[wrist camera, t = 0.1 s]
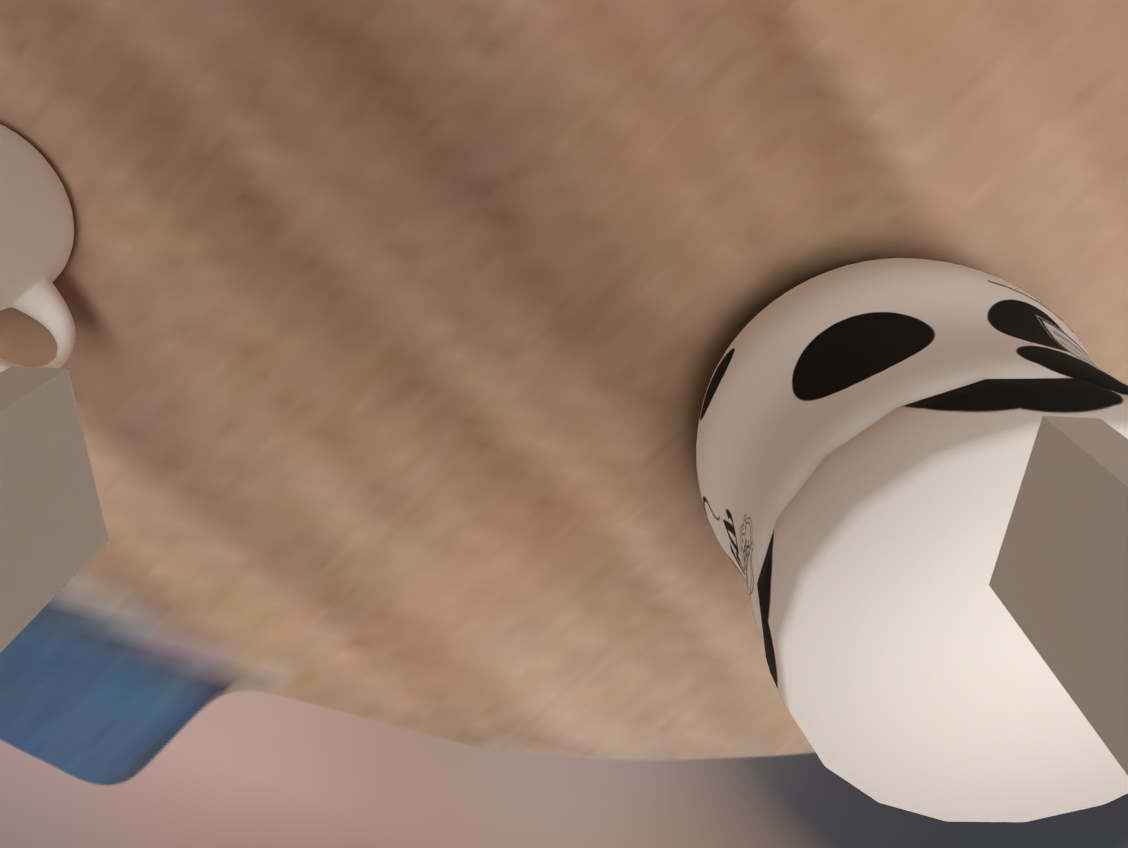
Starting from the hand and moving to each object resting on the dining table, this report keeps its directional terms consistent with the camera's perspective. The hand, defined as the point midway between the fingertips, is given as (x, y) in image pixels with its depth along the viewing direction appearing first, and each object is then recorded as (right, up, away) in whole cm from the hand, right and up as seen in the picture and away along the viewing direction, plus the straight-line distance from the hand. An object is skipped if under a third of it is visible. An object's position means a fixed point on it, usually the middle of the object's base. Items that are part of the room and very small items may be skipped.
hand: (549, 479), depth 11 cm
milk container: (+15, +1, +30) cm, 34 cm away
